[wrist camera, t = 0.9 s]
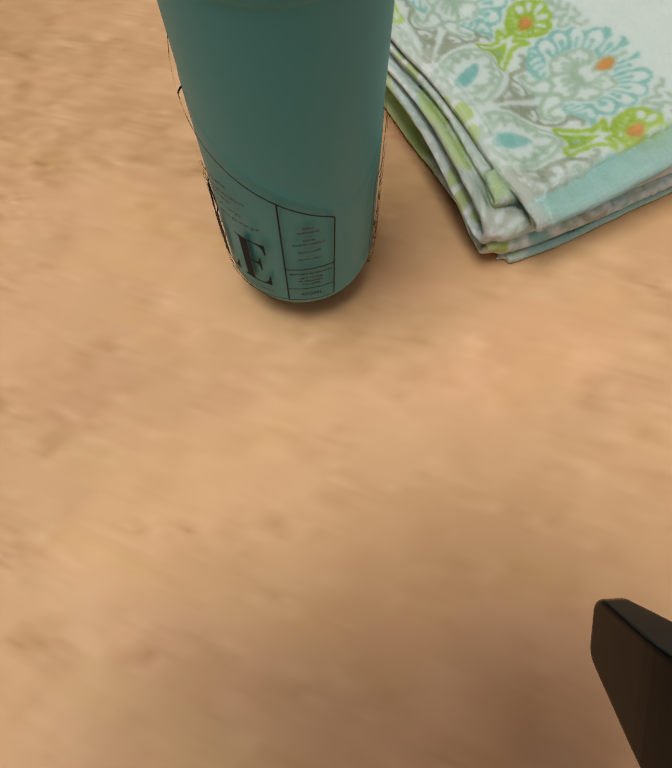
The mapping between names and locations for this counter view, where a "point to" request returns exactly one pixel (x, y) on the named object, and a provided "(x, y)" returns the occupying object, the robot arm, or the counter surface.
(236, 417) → the counter surface
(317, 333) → the counter surface
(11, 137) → the counter surface
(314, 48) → the beverage bottle
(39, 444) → the counter surface
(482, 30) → the towel
